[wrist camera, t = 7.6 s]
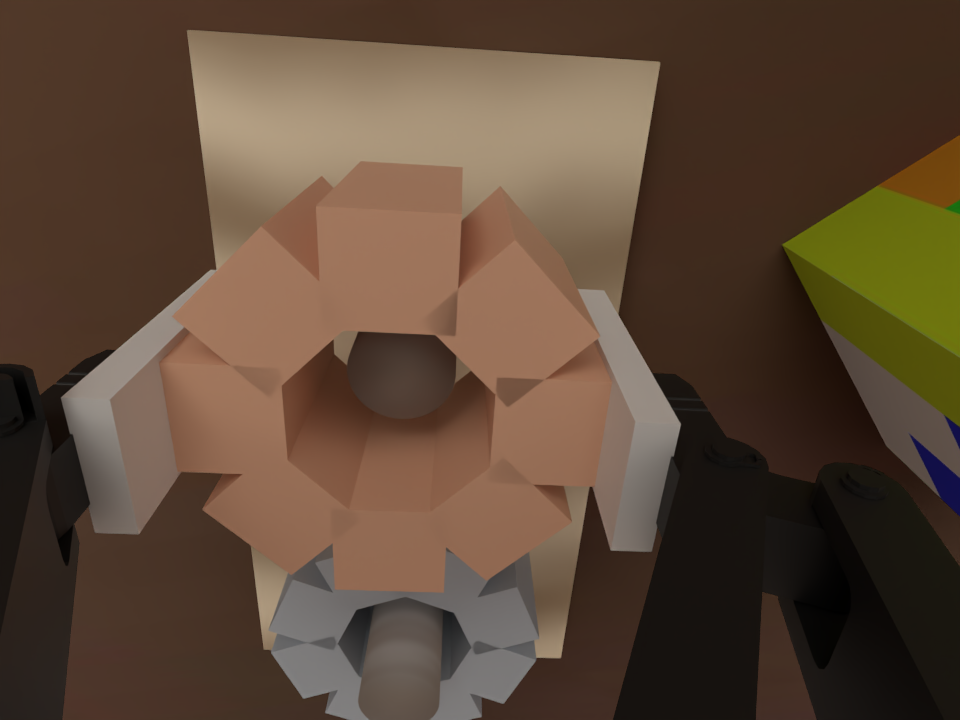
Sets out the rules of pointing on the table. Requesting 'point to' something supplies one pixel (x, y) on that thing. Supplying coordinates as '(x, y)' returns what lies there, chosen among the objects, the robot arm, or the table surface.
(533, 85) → the gear board
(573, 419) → the loose gear
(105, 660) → the table surface
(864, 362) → the puzzle toy
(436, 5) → the table surface
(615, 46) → the table surface
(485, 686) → the gear
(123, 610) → the table surface
